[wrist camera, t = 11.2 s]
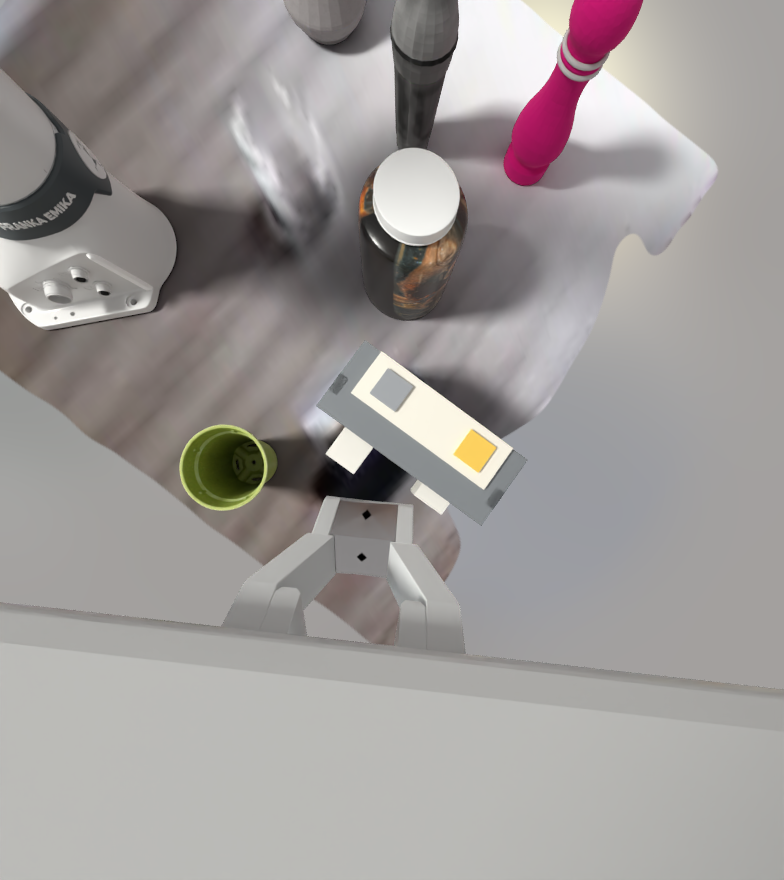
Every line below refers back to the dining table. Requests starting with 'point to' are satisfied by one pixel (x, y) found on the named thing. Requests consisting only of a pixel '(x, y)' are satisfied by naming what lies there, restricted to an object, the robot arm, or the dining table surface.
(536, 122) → the pepper mill
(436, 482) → the console
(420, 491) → the button
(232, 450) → the plant pot
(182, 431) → the dining table surface
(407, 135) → the beverage cup
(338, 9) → the coffee pot
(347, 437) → the button
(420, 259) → the jar
